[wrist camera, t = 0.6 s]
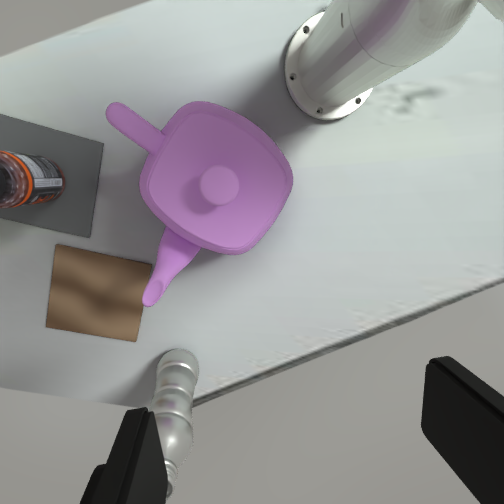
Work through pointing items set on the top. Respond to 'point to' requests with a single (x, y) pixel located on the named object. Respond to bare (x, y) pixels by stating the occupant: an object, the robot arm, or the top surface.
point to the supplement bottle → (28, 179)
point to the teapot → (205, 183)
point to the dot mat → (73, 167)
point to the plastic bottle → (175, 408)
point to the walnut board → (96, 293)
